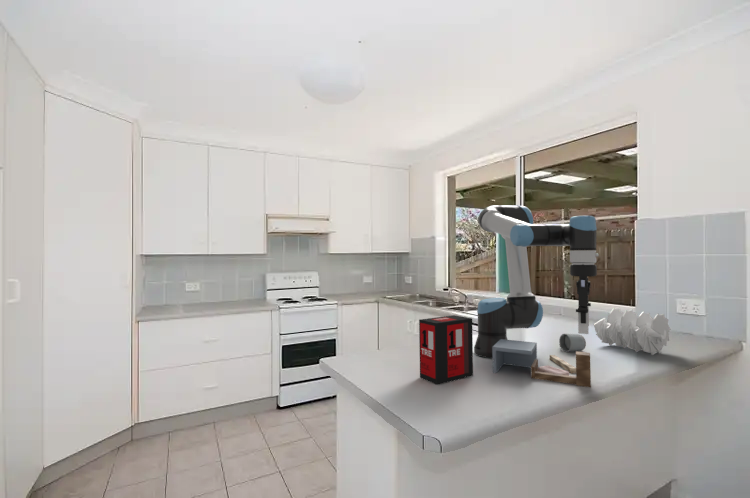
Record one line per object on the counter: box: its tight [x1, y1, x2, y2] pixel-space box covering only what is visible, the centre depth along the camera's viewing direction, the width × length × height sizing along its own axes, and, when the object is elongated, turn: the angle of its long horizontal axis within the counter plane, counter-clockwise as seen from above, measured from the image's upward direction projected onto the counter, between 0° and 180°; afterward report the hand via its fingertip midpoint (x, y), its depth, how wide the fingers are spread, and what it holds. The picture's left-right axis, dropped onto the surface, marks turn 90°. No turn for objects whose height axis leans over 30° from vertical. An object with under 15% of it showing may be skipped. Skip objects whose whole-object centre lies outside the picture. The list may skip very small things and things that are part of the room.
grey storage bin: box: [492, 339, 538, 374], centre depth 138 cm, size 13×14×9 cm
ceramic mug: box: [559, 333, 587, 353], centre depth 166 cm, size 11×8×8 cm
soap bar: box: [538, 364, 570, 376], centre depth 132 cm, size 5×9×2 cm, turn 26°
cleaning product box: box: [418, 314, 474, 386], centre depth 132 cm, size 16×9×20 cm, turn 122°
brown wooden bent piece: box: [530, 351, 592, 388], centre depth 128 cm, size 18×11×10 cm, turn 60°
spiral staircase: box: [593, 307, 671, 356], centre depth 165 cm, size 18×18×25 cm
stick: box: [549, 354, 576, 374], centre depth 143 cm, size 18×2×2 cm, turn 178°
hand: (583, 329), depth 122 cm, fingers open, 13 cm apart
